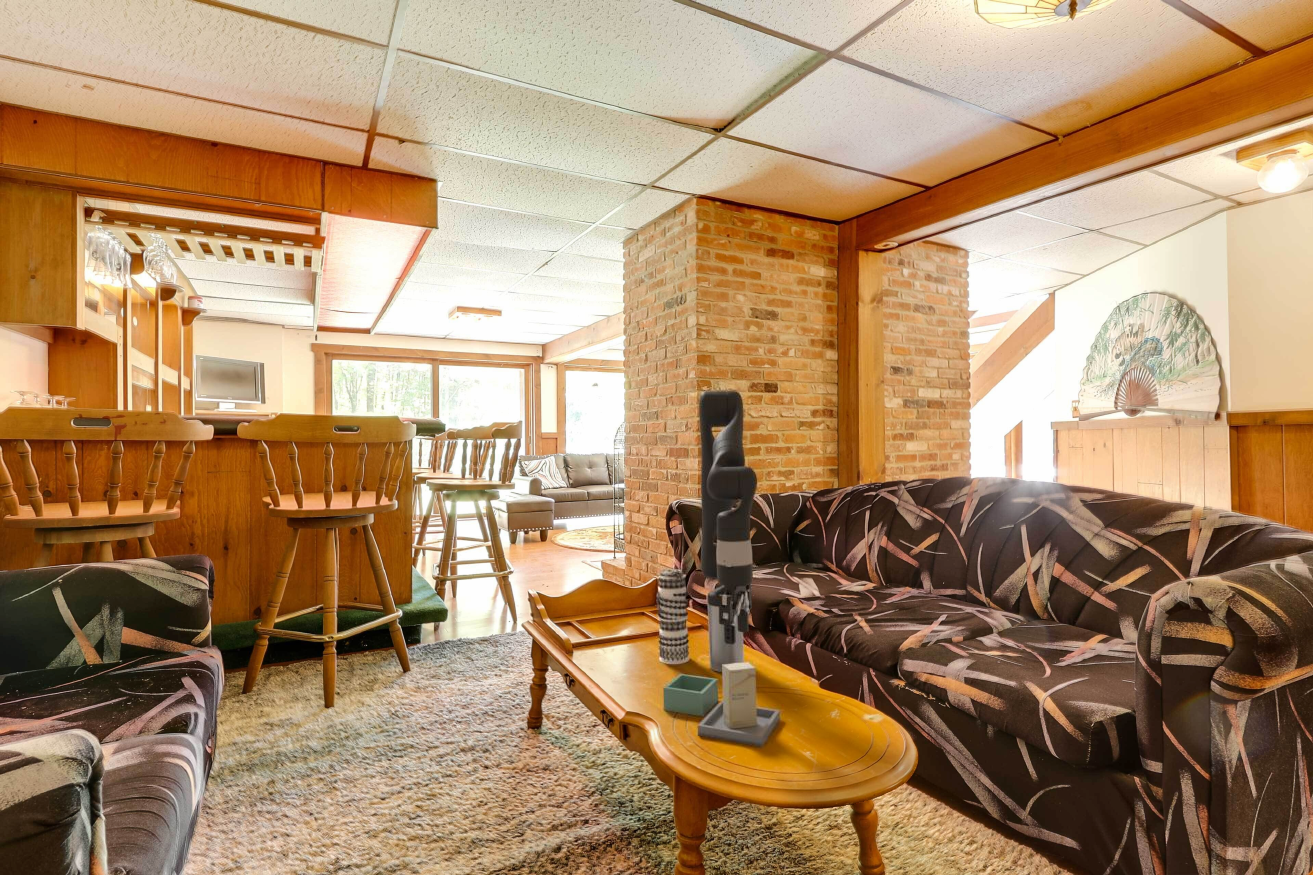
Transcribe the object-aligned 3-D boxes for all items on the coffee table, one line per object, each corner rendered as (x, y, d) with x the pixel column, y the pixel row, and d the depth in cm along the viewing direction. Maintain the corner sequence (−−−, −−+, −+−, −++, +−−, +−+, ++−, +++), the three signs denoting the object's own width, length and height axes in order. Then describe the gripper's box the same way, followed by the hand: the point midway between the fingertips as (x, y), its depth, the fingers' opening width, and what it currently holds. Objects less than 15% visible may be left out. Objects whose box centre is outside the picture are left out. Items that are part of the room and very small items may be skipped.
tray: (720, 710, 142) (720, 701, 142) (780, 719, 136) (779, 710, 136) (697, 735, 129) (697, 725, 129) (762, 746, 123) (761, 736, 123)
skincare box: (730, 729, 130) (728, 670, 130) (722, 721, 134) (720, 663, 135) (758, 725, 132) (756, 667, 132) (750, 717, 136) (748, 660, 136)
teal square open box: (680, 694, 151) (680, 673, 151) (718, 700, 147) (717, 678, 147) (663, 709, 143) (663, 687, 143) (703, 716, 139) (702, 693, 139)
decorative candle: (691, 653, 182) (688, 567, 182) (689, 664, 172) (686, 573, 173) (659, 653, 183) (657, 567, 183) (656, 664, 173) (653, 573, 174)
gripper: (728, 554, 141) (731, 626, 141) (705, 566, 128) (708, 645, 128) (761, 555, 138) (763, 629, 138) (740, 568, 125) (743, 649, 125)
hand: (736, 637), depth 133 cm, fingers open, 8 cm apart
